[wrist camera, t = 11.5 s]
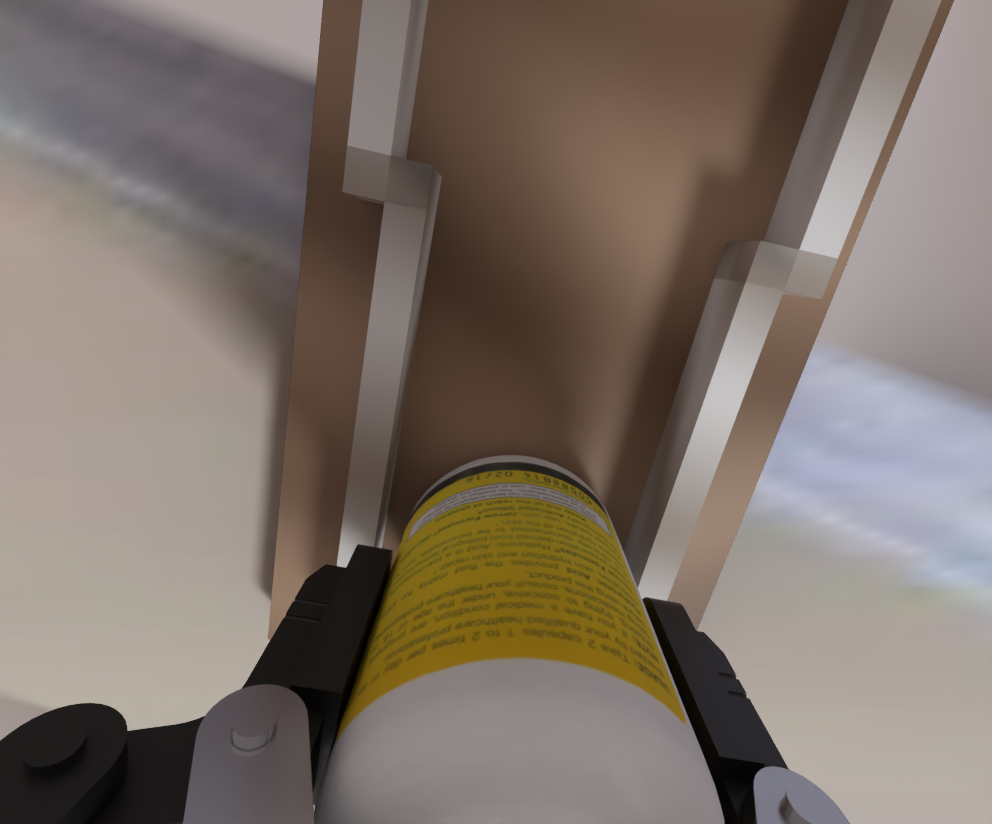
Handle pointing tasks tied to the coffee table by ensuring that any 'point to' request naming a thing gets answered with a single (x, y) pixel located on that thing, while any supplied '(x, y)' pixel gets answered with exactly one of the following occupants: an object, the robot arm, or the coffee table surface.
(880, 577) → the coffee table surface
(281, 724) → the robot arm
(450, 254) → the brown rectangular tray
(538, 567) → the supplement bottle
